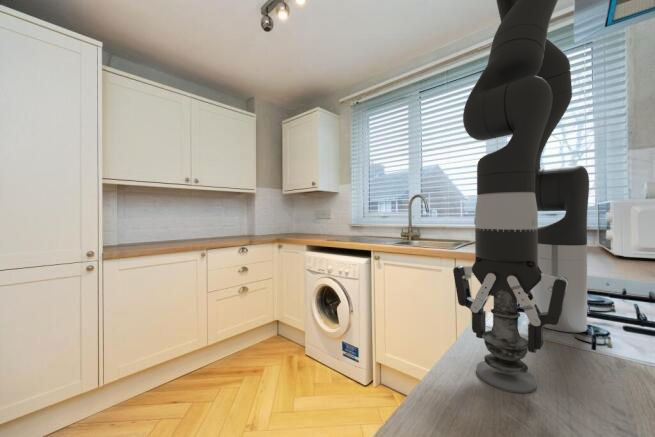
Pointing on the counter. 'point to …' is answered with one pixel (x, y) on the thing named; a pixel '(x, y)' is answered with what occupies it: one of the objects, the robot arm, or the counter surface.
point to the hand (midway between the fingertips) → (505, 342)
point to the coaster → (506, 379)
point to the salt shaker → (505, 337)
